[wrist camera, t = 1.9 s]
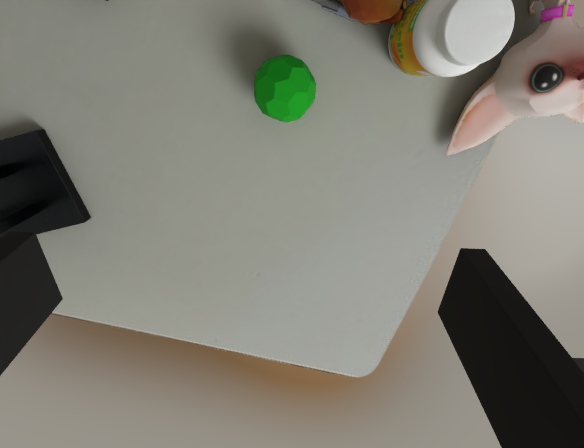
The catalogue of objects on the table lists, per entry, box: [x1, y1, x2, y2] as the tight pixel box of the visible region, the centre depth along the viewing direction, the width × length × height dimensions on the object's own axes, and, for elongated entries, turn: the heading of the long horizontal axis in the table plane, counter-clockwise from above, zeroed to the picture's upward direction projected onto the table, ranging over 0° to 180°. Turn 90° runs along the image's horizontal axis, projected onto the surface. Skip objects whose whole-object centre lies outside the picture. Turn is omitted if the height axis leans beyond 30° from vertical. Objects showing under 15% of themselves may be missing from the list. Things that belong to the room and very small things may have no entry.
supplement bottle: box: [388, 0, 515, 77], centre depth 24 cm, size 5×5×10 cm
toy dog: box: [445, 0, 584, 155], centre depth 26 cm, size 15×8×15 cm
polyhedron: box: [254, 55, 316, 122], centre depth 28 cm, size 5×5×5 cm
